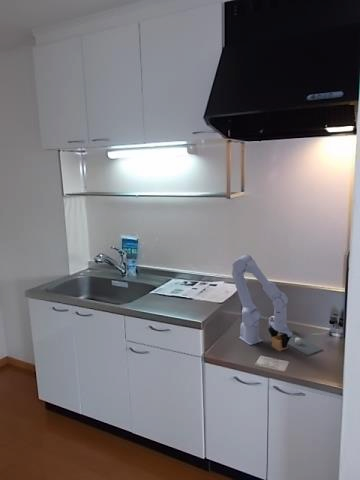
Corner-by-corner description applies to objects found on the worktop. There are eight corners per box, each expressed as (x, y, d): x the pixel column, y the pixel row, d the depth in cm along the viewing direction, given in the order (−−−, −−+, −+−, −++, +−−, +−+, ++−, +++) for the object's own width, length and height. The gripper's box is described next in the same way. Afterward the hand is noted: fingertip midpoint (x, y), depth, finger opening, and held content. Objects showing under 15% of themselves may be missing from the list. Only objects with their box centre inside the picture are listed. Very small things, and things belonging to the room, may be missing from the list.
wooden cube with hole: (271, 346, 186) (271, 337, 185) (280, 343, 188) (280, 334, 187) (279, 351, 181) (279, 341, 180) (287, 348, 183) (287, 338, 182)
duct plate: (277, 339, 193) (277, 333, 192) (292, 334, 197) (292, 328, 197) (307, 356, 175) (307, 349, 175) (322, 350, 180) (322, 344, 179)
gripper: (297, 322, 177) (296, 348, 180) (276, 311, 189) (275, 336, 192) (286, 325, 174) (285, 352, 177) (265, 314, 186) (265, 340, 189)
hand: (279, 344), depth 184 cm, fingers open, 6 cm apart
